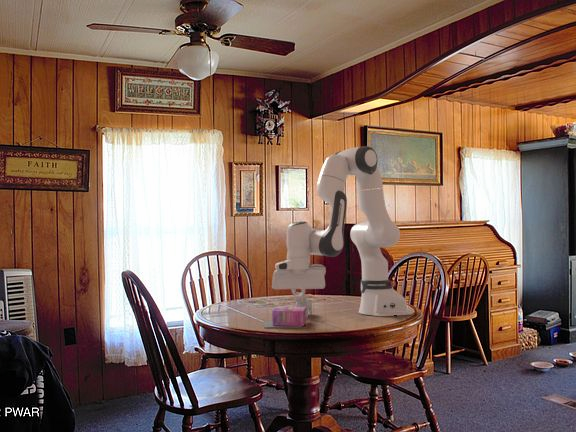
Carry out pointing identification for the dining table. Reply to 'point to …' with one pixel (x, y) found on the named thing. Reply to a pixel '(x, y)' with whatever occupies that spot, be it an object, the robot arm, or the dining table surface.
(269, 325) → the mat
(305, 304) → the dog figurine
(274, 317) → the box
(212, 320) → the dining table surface
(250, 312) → the dining table surface
